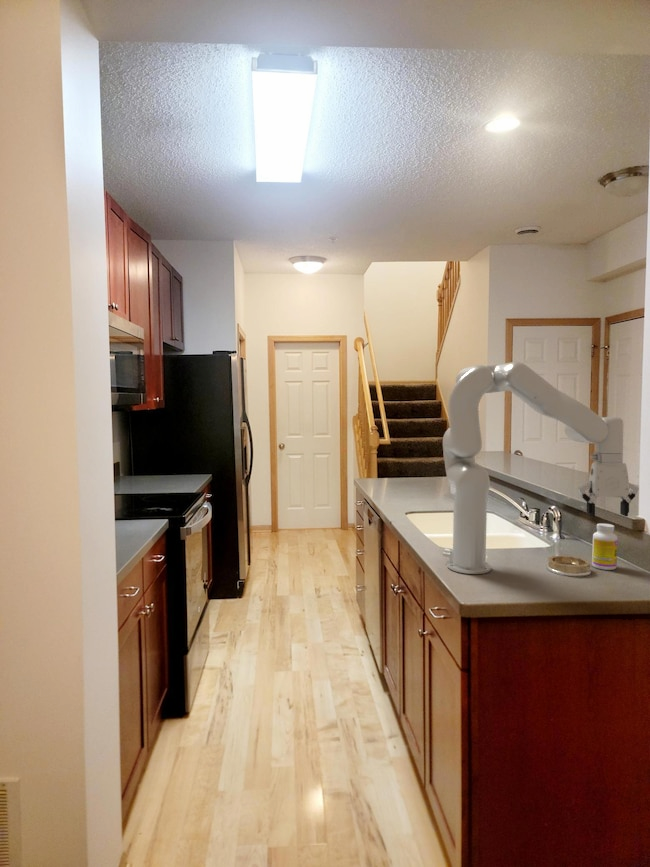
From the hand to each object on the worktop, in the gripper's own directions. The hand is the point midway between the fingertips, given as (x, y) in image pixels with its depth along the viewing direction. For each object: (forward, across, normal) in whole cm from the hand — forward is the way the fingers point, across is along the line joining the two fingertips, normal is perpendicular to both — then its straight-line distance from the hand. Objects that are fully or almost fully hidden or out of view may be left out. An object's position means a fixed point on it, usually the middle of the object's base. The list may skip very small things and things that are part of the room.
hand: (607, 515), depth 164 cm
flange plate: (+15, -13, -4) cm, 20 cm away
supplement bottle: (+16, -1, 0) cm, 16 cm away
